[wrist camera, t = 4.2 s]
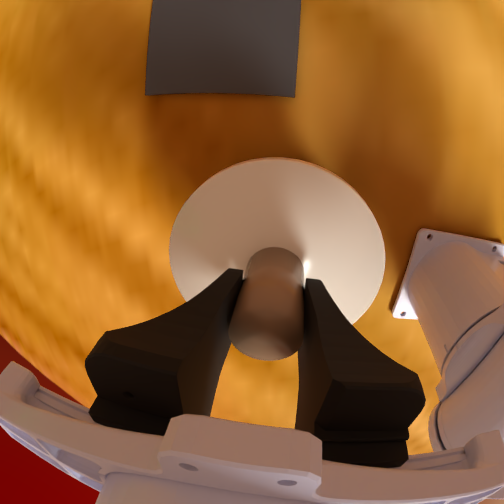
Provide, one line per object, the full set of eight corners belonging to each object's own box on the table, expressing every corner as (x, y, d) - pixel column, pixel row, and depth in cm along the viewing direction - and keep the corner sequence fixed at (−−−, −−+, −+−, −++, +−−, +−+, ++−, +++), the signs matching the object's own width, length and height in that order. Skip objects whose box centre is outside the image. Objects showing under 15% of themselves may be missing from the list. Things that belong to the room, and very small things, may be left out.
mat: (302, -42, 12) (302, -45, 12) (294, 97, 17) (294, 97, 17) (161, -35, 13) (159, -37, 13) (148, 95, 18) (145, 95, 18)
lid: (400, 170, 11) (448, 216, 7) (356, 342, 16) (365, 413, 12) (165, 154, 12) (104, 191, 8) (186, 326, 17) (159, 390, 13)
